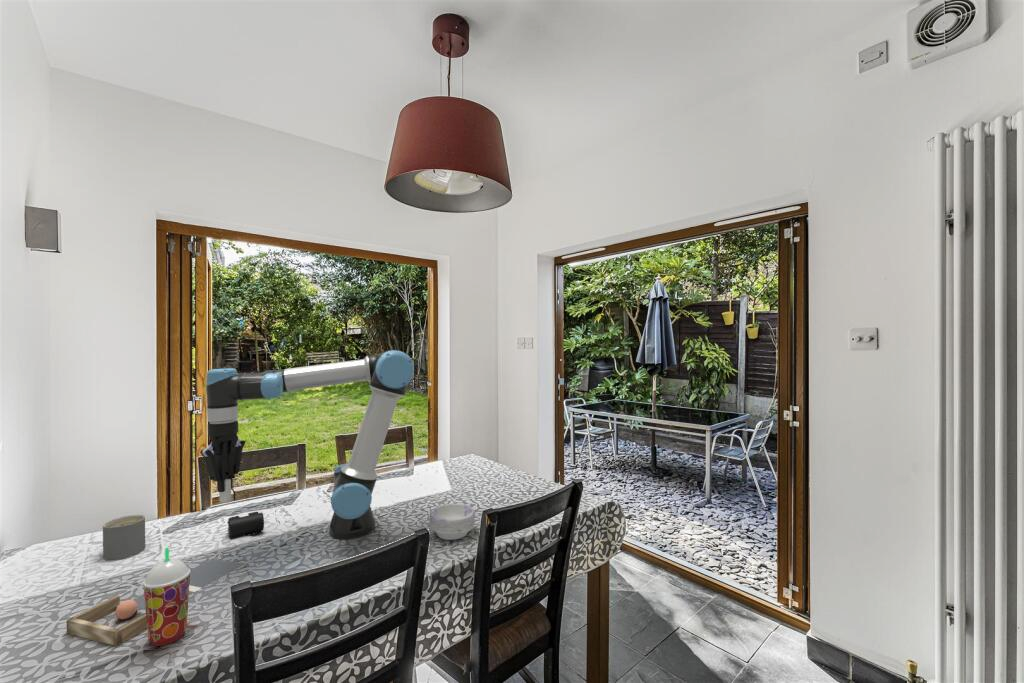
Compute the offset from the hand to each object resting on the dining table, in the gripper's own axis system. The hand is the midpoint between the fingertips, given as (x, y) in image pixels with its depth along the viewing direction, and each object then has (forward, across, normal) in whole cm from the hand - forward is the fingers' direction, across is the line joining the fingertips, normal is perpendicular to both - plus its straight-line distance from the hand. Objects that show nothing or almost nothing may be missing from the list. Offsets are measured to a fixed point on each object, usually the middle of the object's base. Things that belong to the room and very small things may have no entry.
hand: (225, 501), depth 129 cm
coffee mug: (+19, +1, -41) cm, 45 cm away
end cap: (+19, -18, -12) cm, 29 cm away
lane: (+19, +11, -1) cm, 22 cm away
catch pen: (+19, +28, -1) cm, 34 cm away
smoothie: (+19, +28, +15) cm, 37 cm away
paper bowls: (+20, -37, +56) cm, 70 cm away
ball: (+16, +27, -2) cm, 32 cm away
